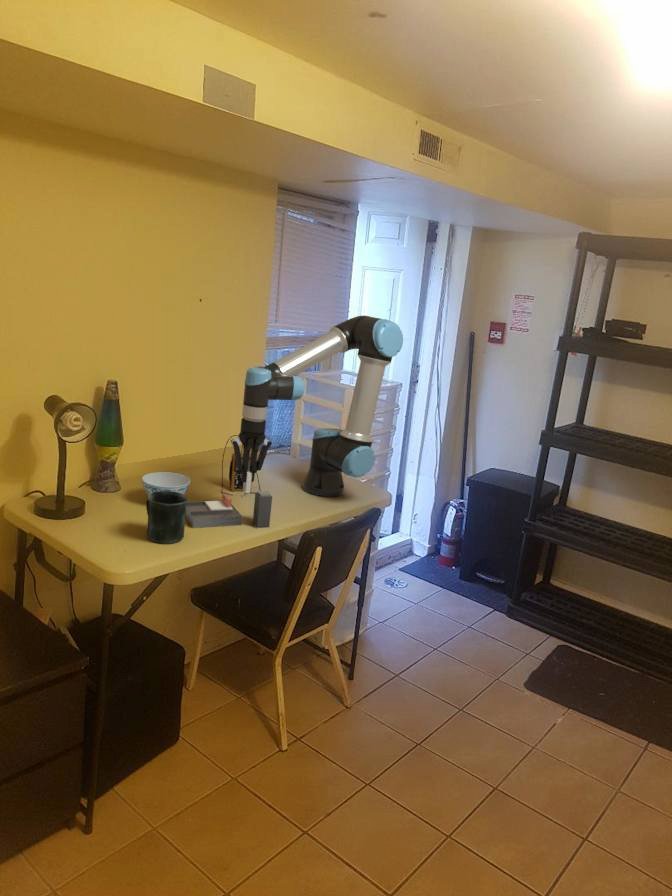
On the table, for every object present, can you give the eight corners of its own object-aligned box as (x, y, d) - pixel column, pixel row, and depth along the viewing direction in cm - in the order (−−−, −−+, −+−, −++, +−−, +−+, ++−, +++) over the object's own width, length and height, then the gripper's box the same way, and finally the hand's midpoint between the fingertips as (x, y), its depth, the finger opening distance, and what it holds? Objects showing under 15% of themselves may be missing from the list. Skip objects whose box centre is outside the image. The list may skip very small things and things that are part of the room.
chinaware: (139, 509, 215) (140, 485, 213) (142, 493, 229) (143, 470, 227) (188, 511, 218) (190, 487, 216) (188, 495, 232) (190, 473, 230)
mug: (161, 548, 189) (163, 507, 186) (130, 531, 197) (132, 491, 194) (193, 540, 197) (196, 500, 194) (162, 523, 206) (164, 485, 203)
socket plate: (227, 508, 224) (228, 498, 223) (241, 525, 212) (242, 514, 211) (181, 511, 217) (181, 500, 216) (192, 528, 205) (193, 516, 204)
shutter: (225, 502, 220) (226, 493, 219) (232, 510, 214) (233, 500, 213) (204, 503, 217) (205, 493, 216) (210, 511, 211) (211, 501, 210)
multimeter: (224, 498, 233) (229, 441, 228) (218, 489, 242) (223, 433, 237) (267, 498, 239) (272, 442, 234) (259, 488, 248) (264, 434, 243)
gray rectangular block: (264, 522, 216) (267, 490, 214) (269, 527, 213) (272, 494, 210) (252, 523, 215) (255, 490, 212) (256, 528, 211) (260, 495, 209)
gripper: (269, 416, 219) (261, 487, 225) (229, 415, 213) (222, 488, 219) (278, 422, 212) (269, 494, 218) (237, 421, 206) (230, 496, 212)
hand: (246, 491), depth 218 cm, fingers closed
